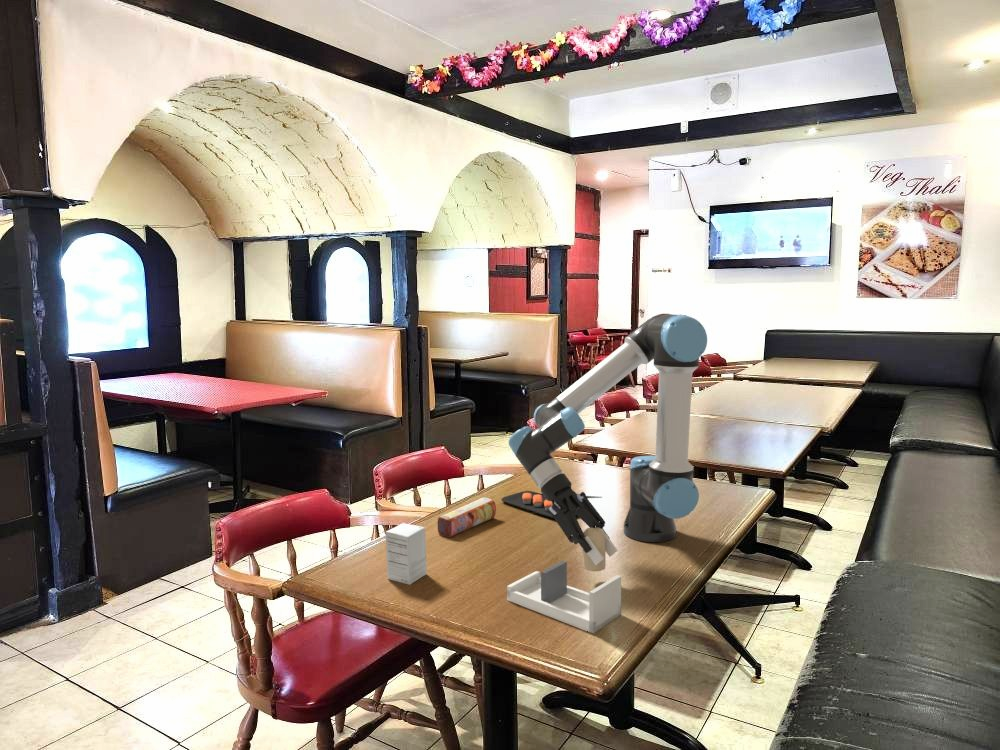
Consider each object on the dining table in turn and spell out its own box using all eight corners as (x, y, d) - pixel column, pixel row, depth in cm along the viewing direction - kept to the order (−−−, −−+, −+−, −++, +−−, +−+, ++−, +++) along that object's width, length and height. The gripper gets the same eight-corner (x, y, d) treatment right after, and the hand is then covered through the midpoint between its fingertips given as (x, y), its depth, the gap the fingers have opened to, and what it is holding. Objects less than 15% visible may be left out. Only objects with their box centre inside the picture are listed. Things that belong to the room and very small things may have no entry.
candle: (603, 562, 171) (602, 523, 170) (607, 571, 165) (607, 531, 164) (581, 563, 171) (580, 524, 169) (585, 572, 165) (584, 532, 164)
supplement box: (404, 568, 178) (403, 522, 176) (427, 574, 174) (426, 526, 172) (386, 579, 172) (384, 531, 170) (409, 585, 168) (408, 536, 166)
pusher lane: (536, 584, 167) (536, 549, 166) (620, 614, 152) (621, 576, 150) (507, 600, 159) (506, 563, 158) (593, 633, 143) (593, 593, 142)
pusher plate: (562, 591, 160) (562, 560, 159) (566, 593, 159) (566, 561, 158) (541, 604, 154) (540, 571, 153) (545, 605, 153) (545, 573, 152)
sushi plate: (497, 504, 231) (497, 493, 231) (557, 485, 251) (557, 475, 251) (560, 525, 210) (560, 513, 209) (621, 503, 230) (621, 492, 229)
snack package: (451, 539, 198) (451, 517, 197) (435, 534, 202) (434, 512, 202) (497, 519, 215) (497, 498, 214) (481, 515, 219) (480, 495, 218)
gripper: (564, 480, 183) (618, 553, 174) (520, 498, 169) (575, 578, 160) (580, 464, 179) (636, 538, 170) (536, 481, 165) (594, 562, 156)
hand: (606, 557), depth 165 cm, fingers closed on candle, 5 cm apart
